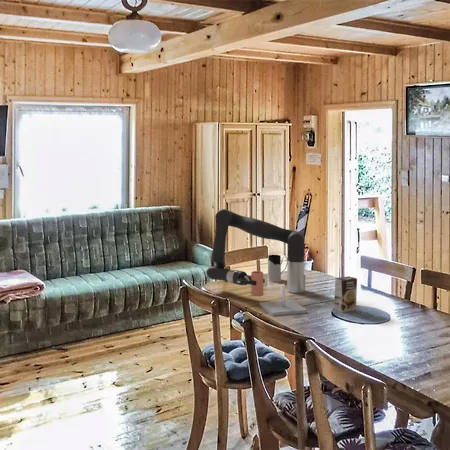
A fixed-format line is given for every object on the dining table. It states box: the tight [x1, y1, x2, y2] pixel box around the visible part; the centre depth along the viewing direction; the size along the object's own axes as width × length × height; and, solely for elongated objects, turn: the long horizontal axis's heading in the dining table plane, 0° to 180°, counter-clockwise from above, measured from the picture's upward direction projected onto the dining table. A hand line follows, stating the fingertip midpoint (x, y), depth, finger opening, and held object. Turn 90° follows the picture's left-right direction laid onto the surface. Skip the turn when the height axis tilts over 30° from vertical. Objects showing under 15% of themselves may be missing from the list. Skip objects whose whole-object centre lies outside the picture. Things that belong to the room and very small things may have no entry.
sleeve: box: [250, 270, 264, 297], centre depth 285 cm, size 6×6×12 cm
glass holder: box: [266, 254, 288, 283], centre depth 331 cm, size 9×14×15 cm, turn 120°
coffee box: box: [333, 276, 358, 313], centre depth 269 cm, size 9×6×16 cm
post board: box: [259, 283, 308, 317], centre depth 271 cm, size 18×18×13 cm
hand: (260, 282), depth 283 cm, fingers closed on sleeve, 6 cm apart
